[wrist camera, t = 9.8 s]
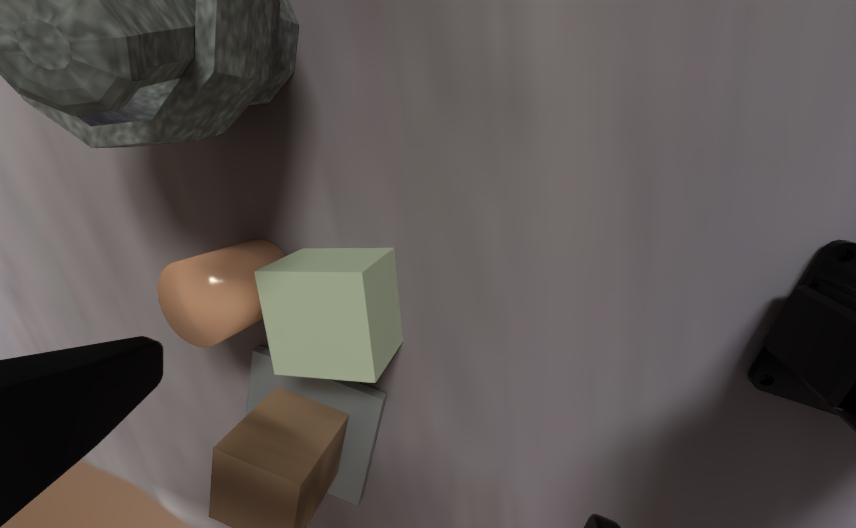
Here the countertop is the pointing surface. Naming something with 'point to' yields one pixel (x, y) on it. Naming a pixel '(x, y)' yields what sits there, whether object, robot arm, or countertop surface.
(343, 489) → the slate coaster
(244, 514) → the walnut block
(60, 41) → the mortar and pestle
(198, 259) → the dome-topped tan cylinder
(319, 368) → the sage block
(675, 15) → the countertop surface
